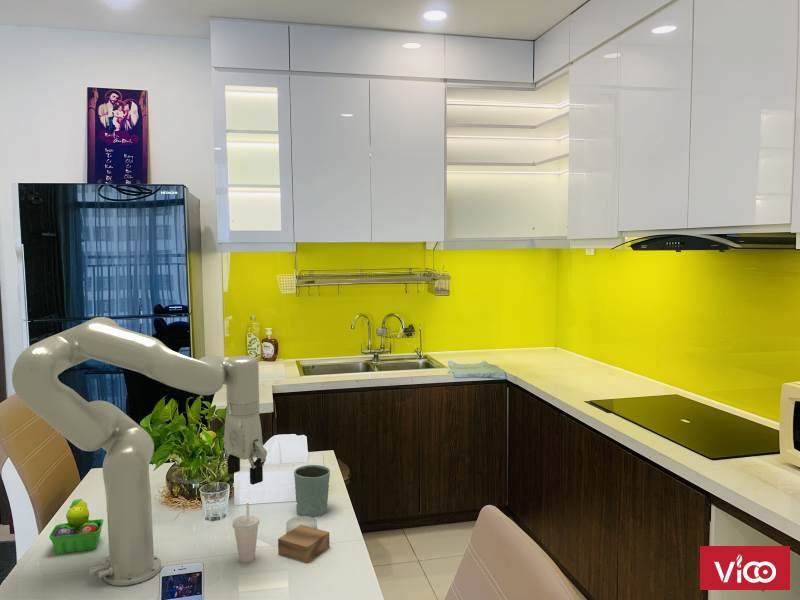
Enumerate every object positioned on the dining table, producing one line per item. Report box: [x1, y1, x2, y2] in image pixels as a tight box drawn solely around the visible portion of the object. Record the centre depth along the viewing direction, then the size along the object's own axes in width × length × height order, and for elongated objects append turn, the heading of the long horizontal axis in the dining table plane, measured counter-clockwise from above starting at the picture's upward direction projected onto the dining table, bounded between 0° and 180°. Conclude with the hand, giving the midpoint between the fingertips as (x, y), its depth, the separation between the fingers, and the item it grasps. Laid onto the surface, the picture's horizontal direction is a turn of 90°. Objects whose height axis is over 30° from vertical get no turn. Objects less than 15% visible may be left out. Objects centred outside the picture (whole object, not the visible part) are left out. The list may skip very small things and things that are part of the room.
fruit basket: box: [48, 498, 104, 555], centre depth 162 cm, size 11×9×11 cm
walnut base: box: [277, 525, 331, 564], centre depth 158 cm, size 9×9×4 cm
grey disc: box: [285, 515, 318, 534], centre depth 169 cm, size 8×8×2 cm
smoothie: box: [232, 502, 260, 564], centre depth 154 cm, size 6×6×14 cm
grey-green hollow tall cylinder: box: [293, 464, 331, 518], centre depth 181 cm, size 10×10×12 cm
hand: (244, 477), depth 153 cm, fingers open, 9 cm apart
